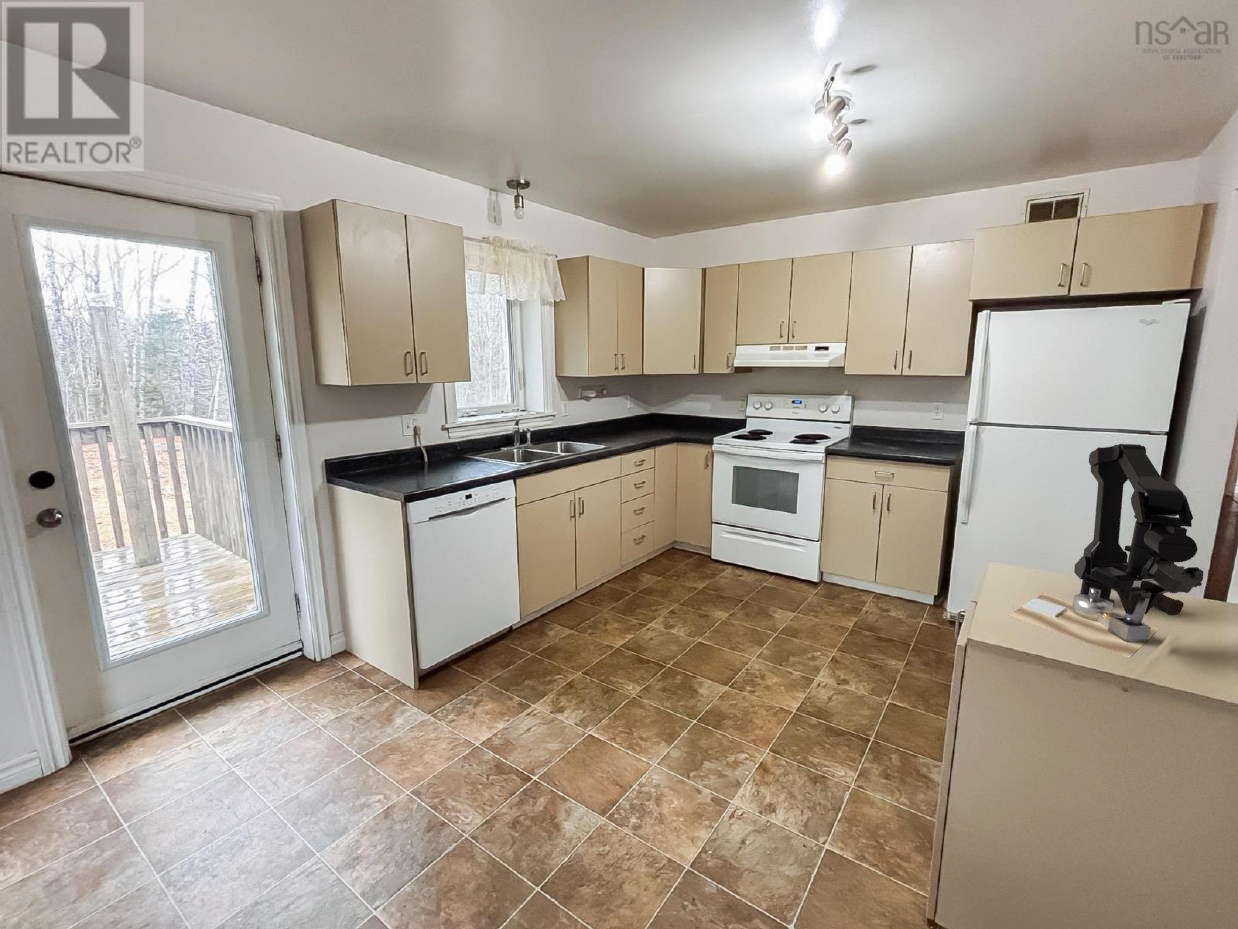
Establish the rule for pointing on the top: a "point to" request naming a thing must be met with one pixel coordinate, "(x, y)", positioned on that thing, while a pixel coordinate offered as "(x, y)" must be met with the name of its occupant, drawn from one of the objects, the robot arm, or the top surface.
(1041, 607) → the coaster
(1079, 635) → the board
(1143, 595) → the metal cylinder
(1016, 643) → the top surface
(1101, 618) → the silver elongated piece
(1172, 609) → the hand tool
